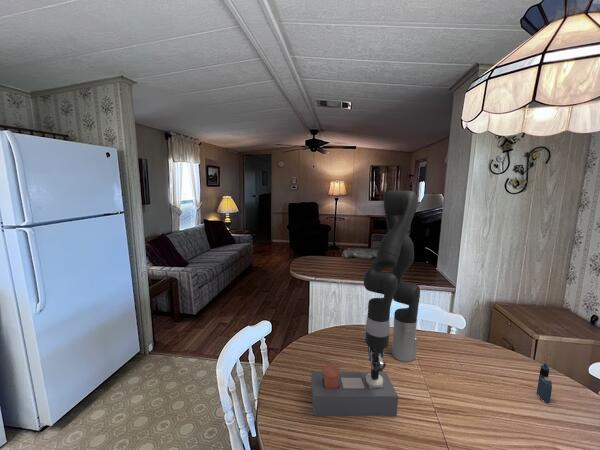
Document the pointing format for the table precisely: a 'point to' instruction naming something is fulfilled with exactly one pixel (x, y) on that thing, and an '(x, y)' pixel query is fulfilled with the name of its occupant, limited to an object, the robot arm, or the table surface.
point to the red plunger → (330, 376)
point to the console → (353, 396)
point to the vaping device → (544, 384)
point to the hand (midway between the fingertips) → (374, 378)
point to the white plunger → (374, 382)
